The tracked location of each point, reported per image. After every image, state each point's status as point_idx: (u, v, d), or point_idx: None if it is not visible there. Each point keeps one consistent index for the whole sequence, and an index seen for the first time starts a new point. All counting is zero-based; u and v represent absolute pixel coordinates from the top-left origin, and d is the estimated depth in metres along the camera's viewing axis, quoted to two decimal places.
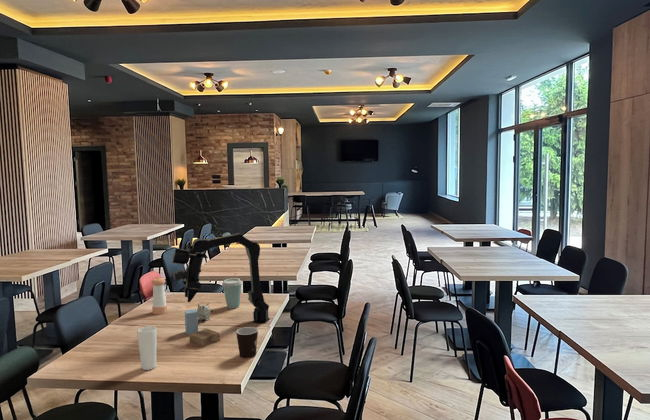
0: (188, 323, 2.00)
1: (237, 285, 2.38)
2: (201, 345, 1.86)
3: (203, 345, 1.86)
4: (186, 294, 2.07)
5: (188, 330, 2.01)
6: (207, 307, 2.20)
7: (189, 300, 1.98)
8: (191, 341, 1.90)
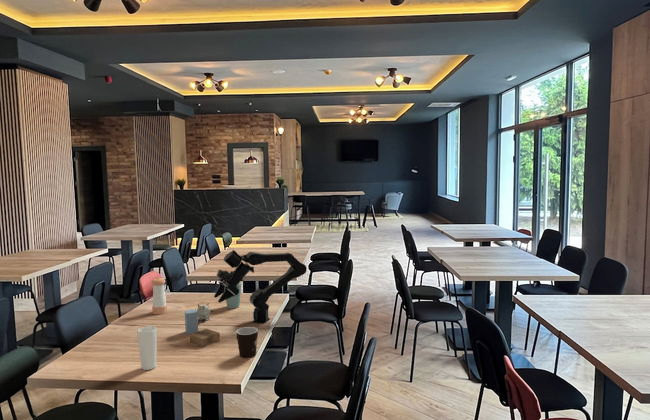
0: (188, 323, 2.00)
1: (237, 285, 2.38)
2: (201, 345, 1.86)
3: (203, 345, 1.86)
4: (216, 295, 2.12)
5: (188, 330, 2.01)
6: (207, 307, 2.20)
7: (220, 300, 2.04)
8: (191, 341, 1.90)
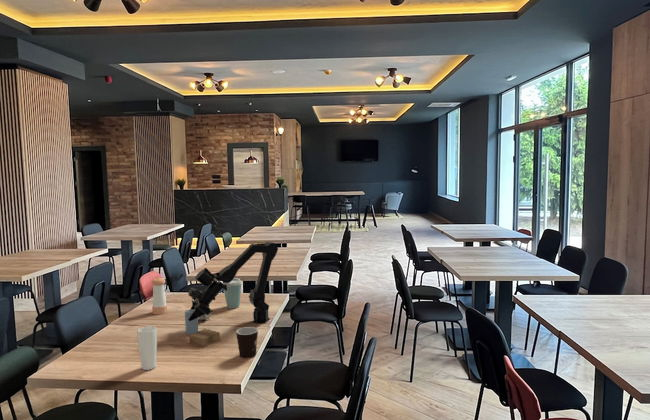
0: (188, 323, 2.00)
1: (237, 285, 2.38)
2: (203, 345, 1.86)
3: (205, 345, 1.86)
4: None
5: (188, 330, 2.01)
6: None
7: (190, 319, 2.00)
8: (191, 341, 1.90)
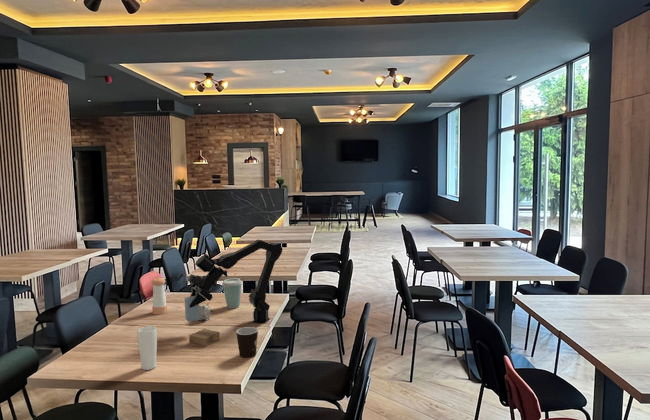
0: (189, 310, 1.98)
1: (237, 285, 2.38)
2: (203, 345, 1.86)
3: (205, 345, 1.86)
4: None
5: (189, 317, 1.98)
6: (207, 307, 2.20)
7: (191, 305, 1.98)
8: (191, 342, 1.90)
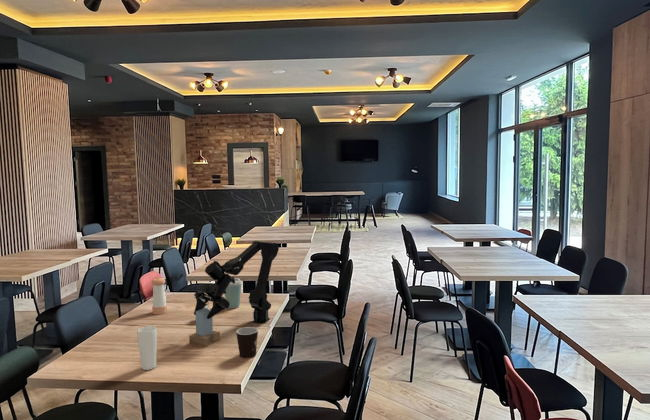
0: (204, 324, 1.88)
1: (237, 285, 2.38)
2: (204, 345, 1.86)
3: (206, 345, 1.86)
4: None
5: (204, 331, 1.89)
6: (207, 307, 2.20)
7: (209, 317, 1.87)
8: (191, 342, 1.89)
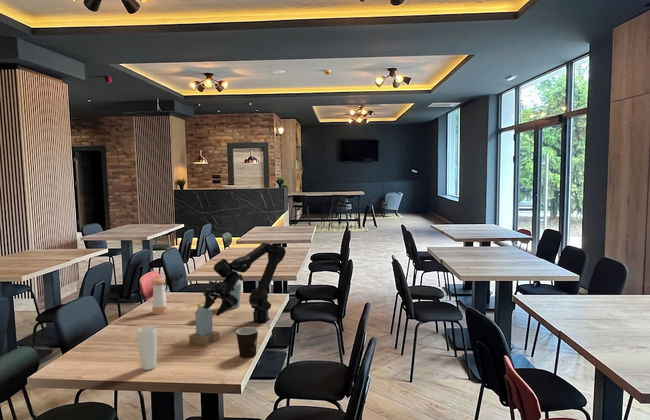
0: (203, 323, 1.89)
1: (237, 285, 2.38)
2: (204, 345, 1.86)
3: (206, 345, 1.86)
4: None
5: (203, 331, 1.89)
6: None
7: (218, 314, 1.91)
8: (191, 342, 1.89)
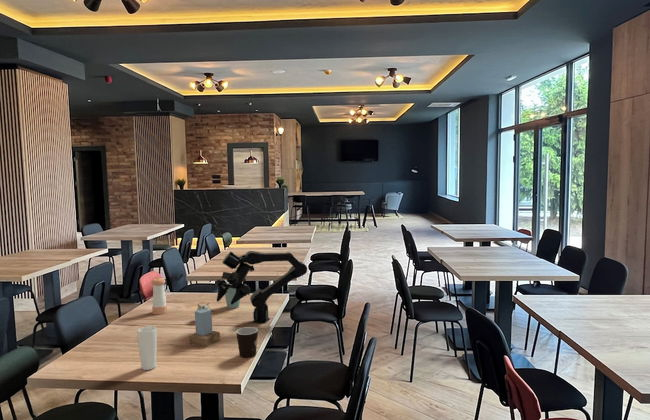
0: (203, 323, 1.89)
1: None
2: (204, 345, 1.86)
3: (206, 345, 1.86)
4: (218, 298, 2.07)
5: (203, 330, 1.89)
6: (207, 307, 2.20)
7: (233, 302, 2.02)
8: (191, 342, 1.89)
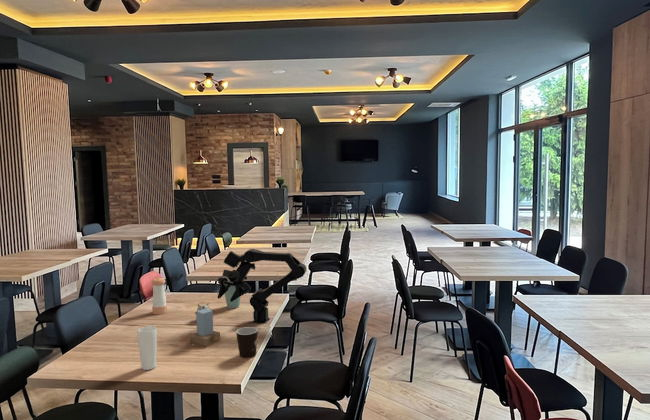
0: (204, 324, 1.88)
1: None
2: (204, 345, 1.86)
3: (207, 345, 1.86)
4: (219, 295, 2.11)
5: (204, 331, 1.89)
6: (207, 307, 2.20)
7: (232, 300, 2.05)
8: (192, 342, 1.89)
